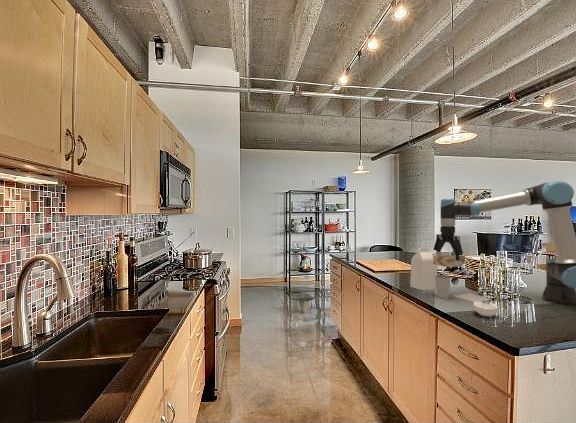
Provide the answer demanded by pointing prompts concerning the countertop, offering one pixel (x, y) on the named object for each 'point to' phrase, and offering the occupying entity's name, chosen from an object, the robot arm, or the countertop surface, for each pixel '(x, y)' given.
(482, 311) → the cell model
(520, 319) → the countertop surface
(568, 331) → the countertop surface
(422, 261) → the milk
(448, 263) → the bread bun
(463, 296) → the mat
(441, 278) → the cup
